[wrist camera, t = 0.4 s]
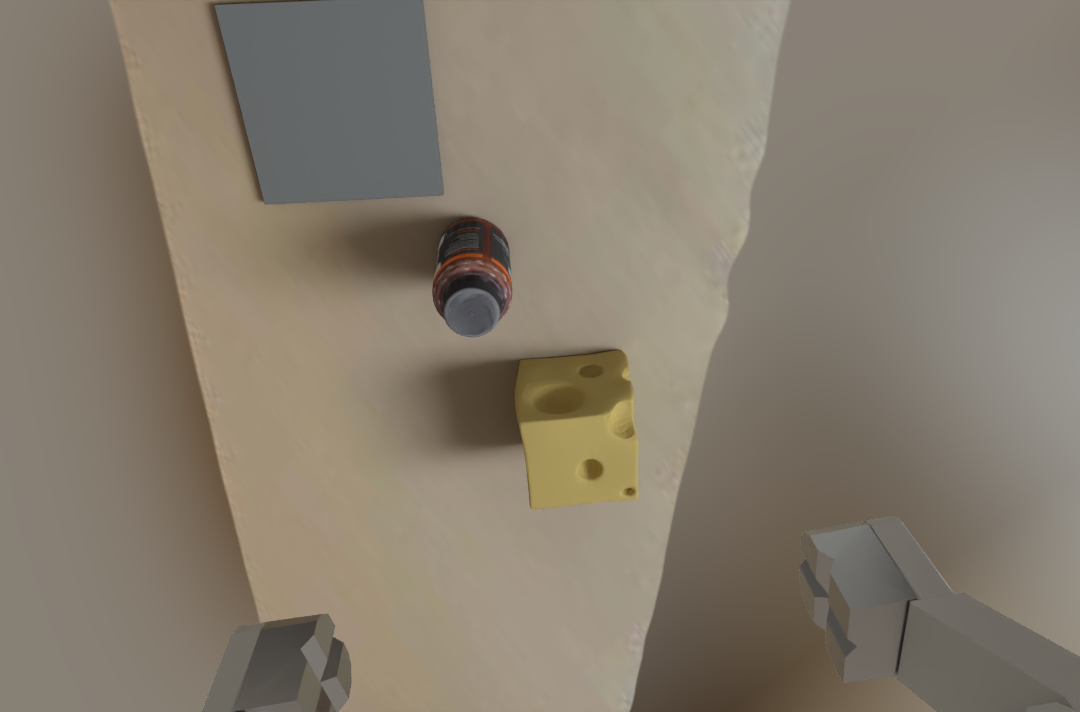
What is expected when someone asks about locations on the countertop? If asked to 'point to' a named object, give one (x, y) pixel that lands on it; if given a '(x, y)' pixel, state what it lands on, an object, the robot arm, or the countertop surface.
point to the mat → (335, 98)
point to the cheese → (578, 429)
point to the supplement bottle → (472, 277)
